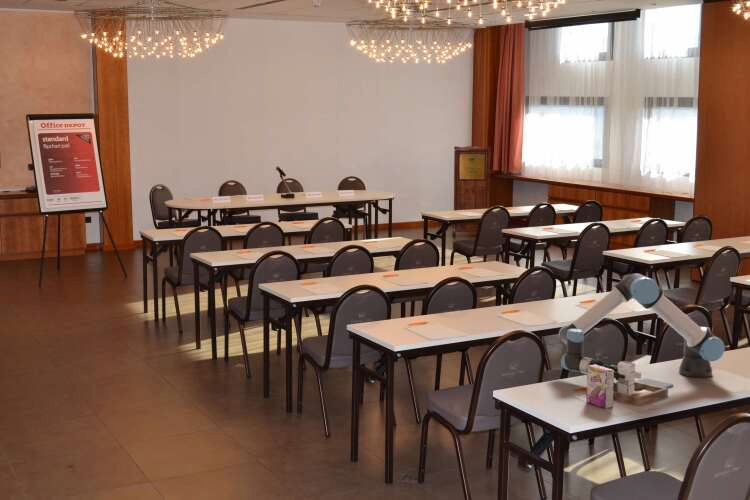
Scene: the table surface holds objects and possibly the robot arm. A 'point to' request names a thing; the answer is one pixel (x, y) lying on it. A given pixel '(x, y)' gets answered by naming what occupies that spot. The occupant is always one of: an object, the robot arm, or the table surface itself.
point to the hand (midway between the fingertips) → (636, 376)
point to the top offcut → (640, 393)
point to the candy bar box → (600, 386)
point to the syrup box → (625, 385)
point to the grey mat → (656, 383)
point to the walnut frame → (656, 394)
